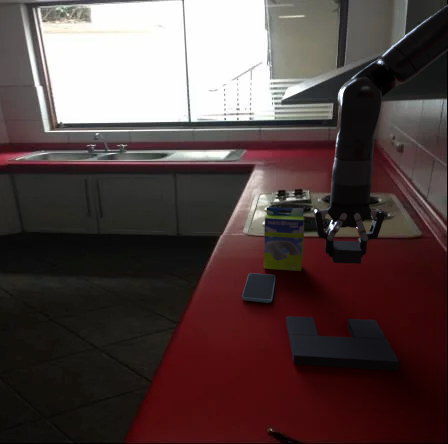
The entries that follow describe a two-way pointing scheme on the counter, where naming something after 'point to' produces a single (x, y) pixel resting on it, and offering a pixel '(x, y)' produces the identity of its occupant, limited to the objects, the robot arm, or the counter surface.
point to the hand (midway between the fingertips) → (344, 255)
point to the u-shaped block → (340, 345)
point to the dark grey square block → (346, 252)
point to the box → (283, 239)
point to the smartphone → (259, 288)
